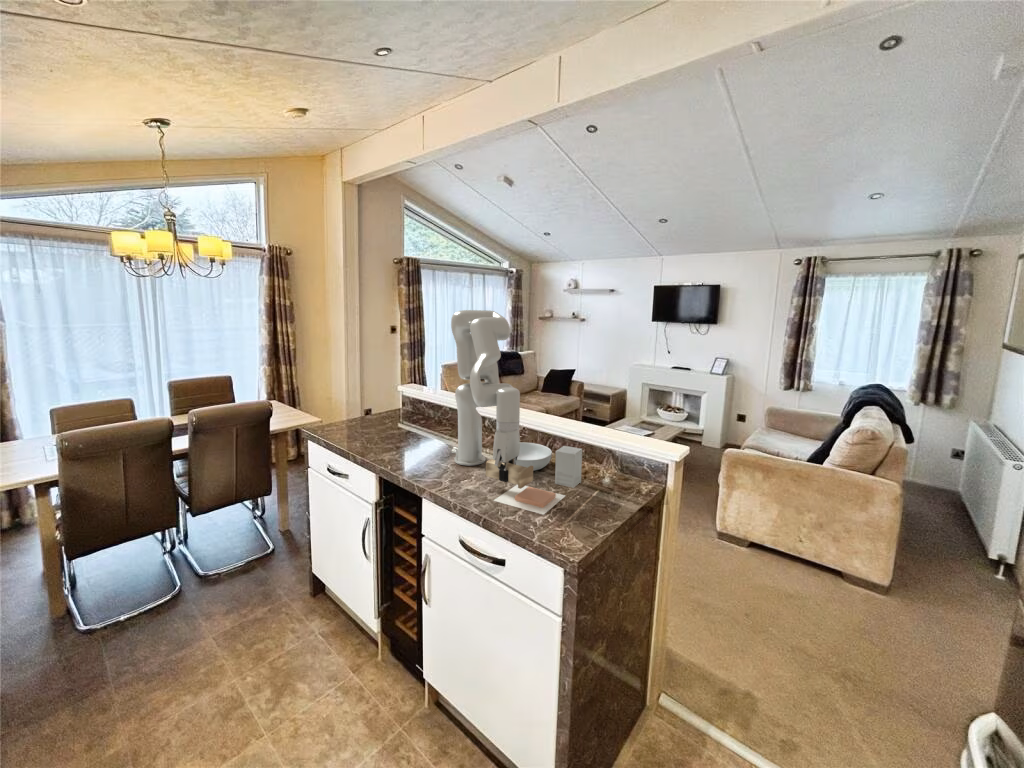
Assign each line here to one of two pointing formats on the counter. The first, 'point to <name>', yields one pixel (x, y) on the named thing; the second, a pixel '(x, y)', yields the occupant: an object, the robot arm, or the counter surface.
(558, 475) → the supplement box
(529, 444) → the serving bowl
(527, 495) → the tile
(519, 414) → the robot arm
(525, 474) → the tall beige plank
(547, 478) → the counter surface
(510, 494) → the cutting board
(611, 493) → the counter surface
